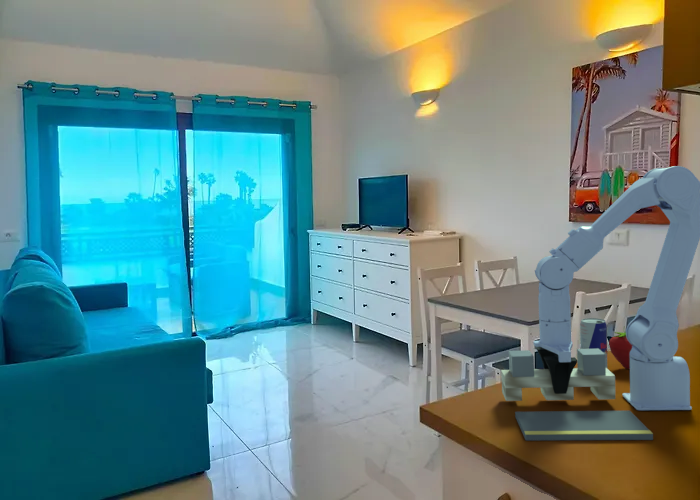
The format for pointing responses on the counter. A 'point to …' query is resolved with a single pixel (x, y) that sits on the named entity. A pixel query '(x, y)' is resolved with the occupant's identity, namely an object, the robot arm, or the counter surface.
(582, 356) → the block
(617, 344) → the strawberry
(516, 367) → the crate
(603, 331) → the energy drink
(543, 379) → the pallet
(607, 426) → the dock
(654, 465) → the counter surface
